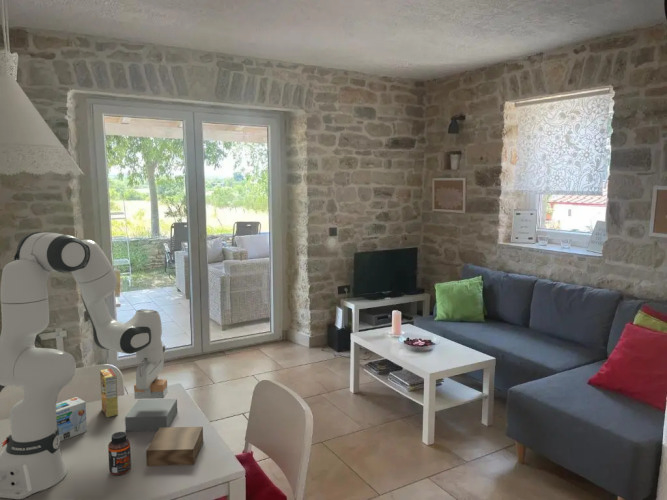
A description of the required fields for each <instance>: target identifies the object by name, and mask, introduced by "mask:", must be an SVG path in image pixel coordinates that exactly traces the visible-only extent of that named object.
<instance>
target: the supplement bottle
mask: <svg viewBox="0 0 667 500" xmlns="http://www.w3.org/2000/svg"><path fill="white" fill-rule="evenodd" d="M110 440H111V441H110V442H108V447H107V448H108V452H107V453H108V469H109V470H108V471H109V474H111V475H112V476H122V475H125V474H126V473H128V472H129V471H130V470H131V468H132V460H131V459H132V457H131V455H132V454H131V453H132V452H131V441H130V439H129V438H127V433H126V432H125V431H116V432H115V433H113V434H111V438H110Z"/></svg>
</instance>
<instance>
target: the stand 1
mask: <svg viewBox="0 0 667 500" xmlns="http://www.w3.org/2000/svg"><path fill="white" fill-rule="evenodd" d="M177 414H178V398H155V399H137V401H136V403H134V405H133V406H132V408H131V409H130V410H129V412H128V413H127V414H126V415H125V417H124V424H125V431H126V432H135V431H138V432H140V431H158V430H159V428H165V427H170V425H171V424H172V422H173V421H174V418H175V417H176V415H177Z"/></svg>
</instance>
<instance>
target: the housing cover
mask: <svg viewBox="0 0 667 500" xmlns="http://www.w3.org/2000/svg"><path fill="white" fill-rule="evenodd" d="M166 387H167V388H168V378H167V379H166V378H163V379H162V378H161V379H155V380H154V381H153V382H152V383H151V386H150V389H151V392H163V391H164V390H165V388H166ZM133 391H134V392H145V391H144V390H138V389H137V388H136V383H134V384H133Z"/></svg>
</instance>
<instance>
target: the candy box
mask: <svg viewBox="0 0 667 500" xmlns="http://www.w3.org/2000/svg"><path fill="white" fill-rule="evenodd" d="M99 375H100V394H101V396H100V397H101V409H102V411H103V413H104V414H105V417H106V418H110V417H114V416H118V415H119V406H118V405H119V402H118V384H117V383H118V381H117V380H118V378H117V377H118V376H117V375H116V373H115V372H114V370H113V369H112V368H104V369H100V370H99Z"/></svg>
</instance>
